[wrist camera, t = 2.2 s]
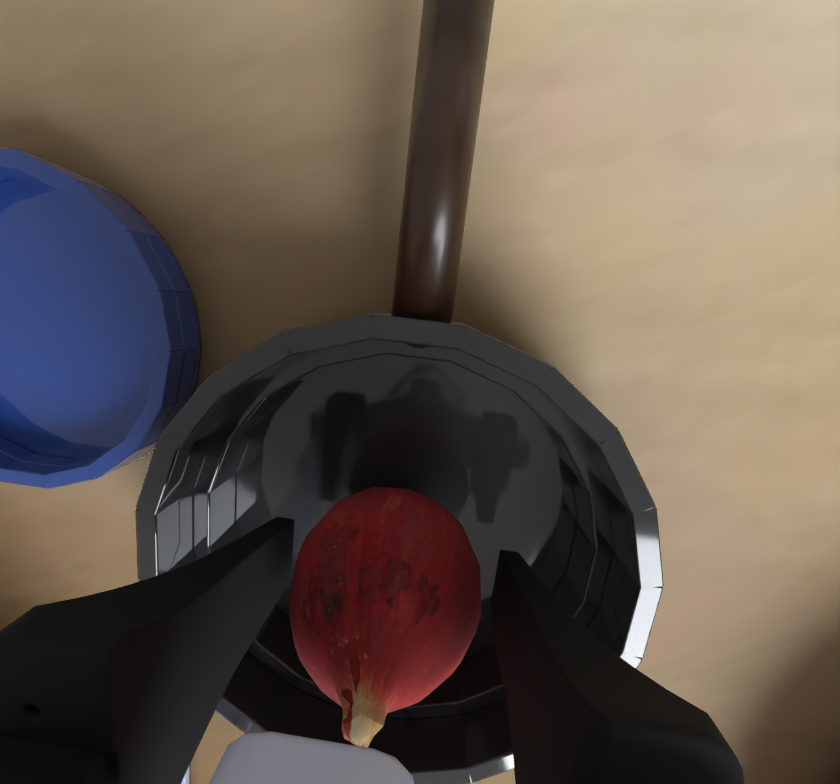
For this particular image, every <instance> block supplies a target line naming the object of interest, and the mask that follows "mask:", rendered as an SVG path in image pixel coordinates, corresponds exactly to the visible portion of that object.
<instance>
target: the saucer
mask: <svg viewBox="0 0 840 784" xmlns="http://www.w3.org/2000/svg"><path fill="white" fill-rule="evenodd" d="M199 362H200V332H199V324H198V318H197V313H196V308H195V304H194V301H193V298H192V295H191V291H190V288H189V285H188V283H187V281H186V279H185V276H184V274H183V272H182V270H181V267H180V266H179V264H178V262H177V260H176V259H175V257H174V255H173V254H172V252H171V250H170V248H169V247H168V246H167V244H166V243H165V242H164V240H163V239H162V238H161V236H160V235H159V234H158V232H157V231H156V230H155V229H154V227H153V226H152V225H151V224H150V223H149V222H148V221H147V220H146V219H145V218H144V217H143V216H142V215H141V214H140V213H139V212H138V211H137V210H136V209H135V208H133V207H132V206H131V205H130V204H129V203H127V202H126V201H125V200H124V199H123V198H121V197H120V196H118V195H117V194H115V193H114V192H112V191H110V190H109V189H107V188H106V187H104V186H103V185H100V184H98V183H96V182H94V181H92V180H90V179H88V178H86V177H84V176H81V175H79V174H77V173H75V172H73V171H71V170H69V169H68V168H66V167H64V166H61V165H58V164H56V163H53V162H51V161H48V160H45V159H43V158H40V157H37V156H35V155H32V154H30V153H27V152H24V151H21V150H18V149H9V148H0V482H7V483H14V484H21V485H27V486H34V487H41V488H55V487H60V486H64V485H69V484H74V483H79V482H83V481H88V480H93V479H97V478H99V477H101V476H103V475H106V474H108V473H110V472H112V471H114V470H116V469H118V468H120V467H122V466H124V465H127V464H129V463H130V462H131V461H133V460H134V459H136V458H137V457H139V456H140V455H142V454H144V453H146V452H148V451H149V450H150V449H152V448H153V447H154V446H156V444H157V441H158V439H159V437H160V435H161V434H162V433H163V431H164V430H165V429H166V428H167V426H168V425H169V424H170V423H171V421H172V420H173V419H174V418H175V416H176V415H177V414H178V413H179V411H180V410H181V409H182V408H183V406H184V405H185V404H186V403H187V401H188V400H189V399H190V398H191V396H192V393H193V391H194V388H195V385H196V380H197V375H198V370H199Z"/></svg>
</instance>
